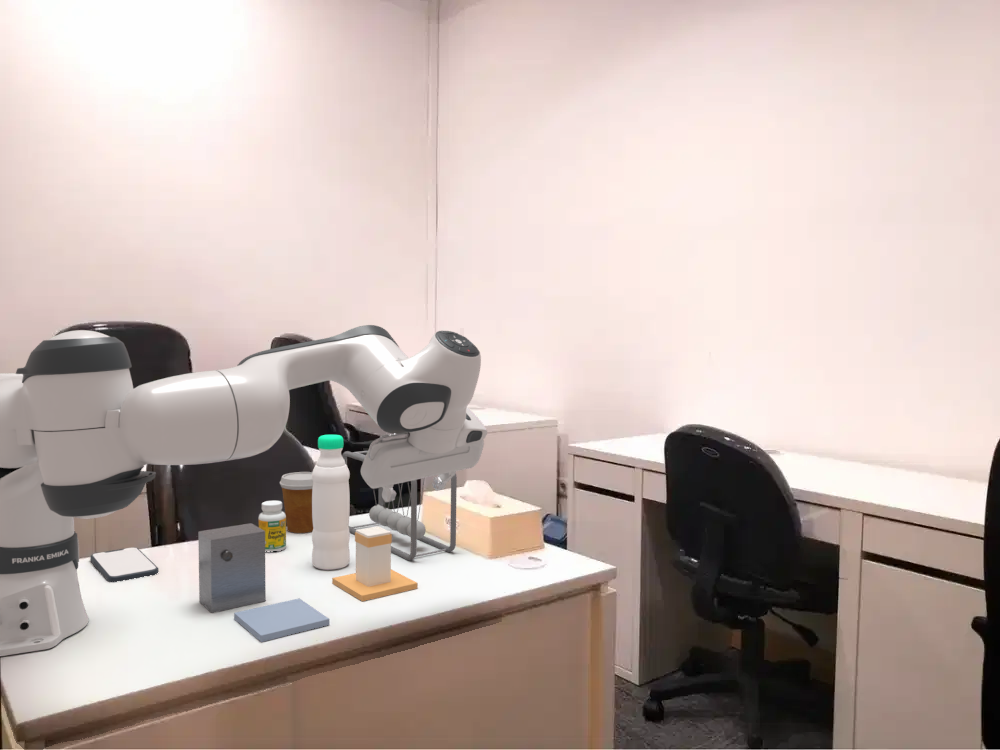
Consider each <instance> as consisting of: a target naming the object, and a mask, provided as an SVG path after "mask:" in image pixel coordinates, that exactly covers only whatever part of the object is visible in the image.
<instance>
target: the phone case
mask: <svg viewBox="0 0 1000 750" xmlns="http://www.w3.org/2000/svg"><path fill="white" fill-rule="evenodd" d="M89 558H90V562H91V564H92V565H93V566H94V568H96V570H97V571H98V572H99V574H101V576H102V577H103V578H104V579H105V580H106V581H107V582H108V583H118V582H117V581H120V582H124V581H123V580H125V581H130V580H129V579H131V580H135V579H134V578H136V579H141V578H140V577H142V578H145V577H144V576H147V577H151V576H150V575H152V576H156V575H158V574H159V573H158V572H160V571H159V567H158V566H157V565H156V564H155V563H154V561H152V560H150V558H148V556H147V555H146V554H145V553H143V552H142V551H141V550H140V549H139V548H138V547H126V548H120V549H119V548H118V549H113V550H108V551H101V552H94V553H91V555H90V557H89ZM157 573H158V574H157ZM155 574H156V575H155Z"/></svg>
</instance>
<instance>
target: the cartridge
mask: <svg viewBox="0 0 1000 750" xmlns="http://www.w3.org/2000/svg"><path fill="white" fill-rule="evenodd" d="M354 542H355V573H356V580H357V581H359V582H361V583H362V584H364V585H366V586H368V587H370V586H374V585H379V584H383V583H387V582H391V569H392V556H391V555H392V552H391V546H392V543H393V535H392V532H391V531H390V530H387V529H385V528H383V527H381V526H379V525H378V526H373V527H366V528H362V529H356V532H355V535H354Z"/></svg>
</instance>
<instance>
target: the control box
mask: <svg viewBox="0 0 1000 750" xmlns="http://www.w3.org/2000/svg"><path fill="white" fill-rule="evenodd" d="M197 532H198V534H197V535H198V539H197V540H198V591H199V592H198V598H199V603H200V604H201V605H202V606H203V607H205V608H206V609H207V610H208V611H209V612H210V613H212V614H213V613H218V612H223V611H228V610H232V609H236V608H241V607H245V606H250V605H255V604H259V603H264V602H266V599H267V597H266V595H267V594H266V552H265V531H264V530H262V529H261V528H259V526H257V525H256V524H253V523H245V524H239V525H231V526H225V527H218V528H212V529H206V530H200V531H197Z"/></svg>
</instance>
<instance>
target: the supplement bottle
mask: <svg viewBox="0 0 1000 750" xmlns="http://www.w3.org/2000/svg"><path fill="white" fill-rule="evenodd" d="M261 510H262V512H260V513H259V514H258V527H259V528H261V529H262V530H264V531H265V551H279V552H282V551H284V550H285V549H286V548H287V522H286V514H285V511H283V502H282V501H281V500H266V501H264V502H262V503H261ZM281 550H282V551H281Z"/></svg>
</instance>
